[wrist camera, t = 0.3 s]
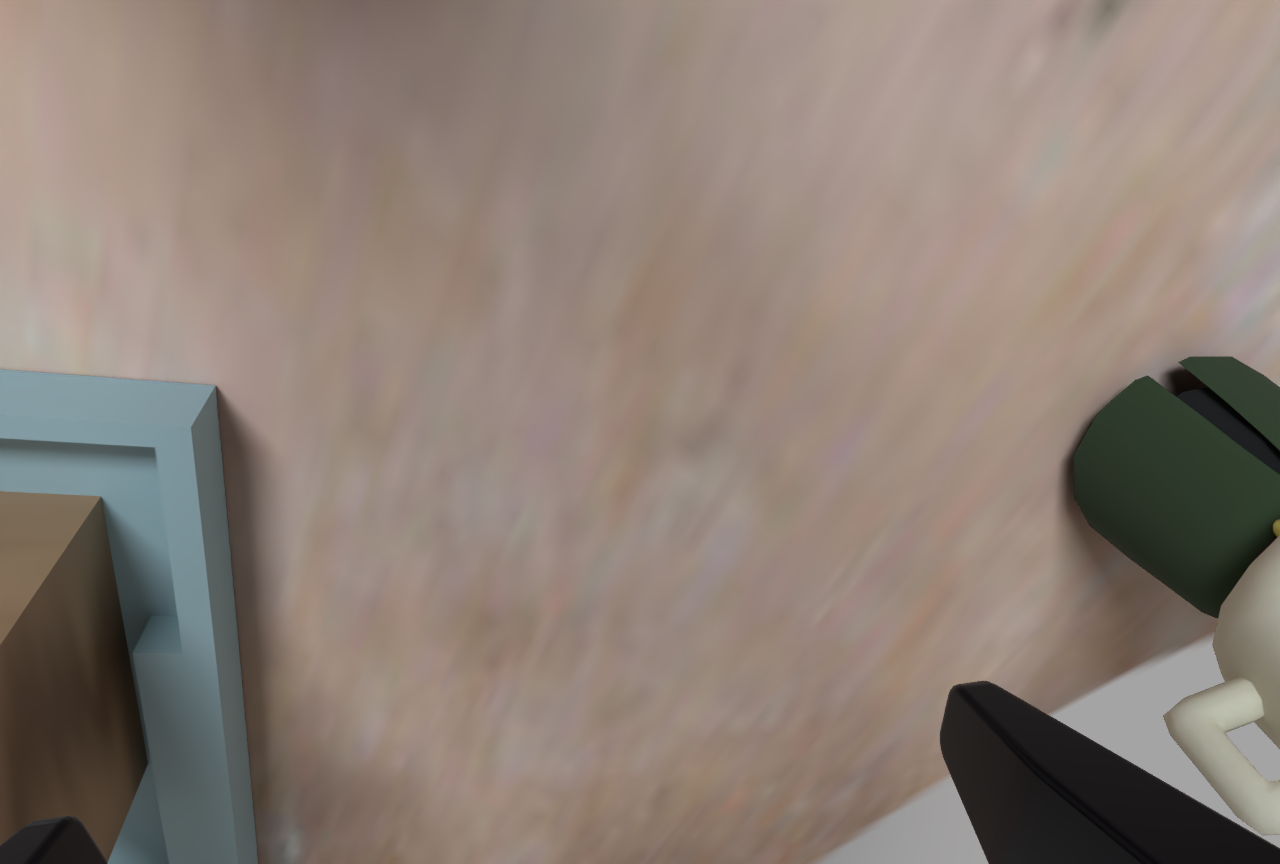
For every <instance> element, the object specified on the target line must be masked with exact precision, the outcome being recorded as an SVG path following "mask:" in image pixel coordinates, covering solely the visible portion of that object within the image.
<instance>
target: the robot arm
mask: <svg viewBox="0 0 1280 864" xmlns="http://www.w3.org/2000/svg"><path fill="white" fill-rule="evenodd" d="M940 745H941V751H942V754H943V758H944V760H945V763H946V765H947V767H948V770H949V772H950V774H951V777H952V779H953V781H954V784H955V786H956V788H957V790H958V793H959V795H960V798H961V800H962V802H963V805H964V807H965V809H966V812H967V814H968V816H969V818H970V821H971V823H972V826H973V828H974V830H975V833H976V835H977V837H978V839H979V842H980V844H981V846H982V849H983V851H984V854H985V856H986V858H987V861H988V863H989V864H1280V848H1278V847H1276V846H1275V845H1273V844H1271V843H1270V842H1268V841H1266V840H1264V839H1263V838H1261V837H1259V836H1257V835H1256V834H1254V833H1252V832H1250V831H1249V830H1247V829H1245V828H1243V827H1242V826H1240V825H1238V824H1237V823H1235V822H1233V821H1231V820H1230V819H1228V818H1226V817H1224V816H1223V815H1221V814H1219V813H1218V812H1216V811H1214V810H1212V809H1211V808H1209V807H1207V806H1205V805H1204V804H1202V803H1200V802H1198V801H1197V800H1195V799H1193V798H1191V797H1190V796H1188V795H1186V794H1185V793H1183V792H1181V791H1179V790H1178V789H1176V788H1174V787H1172V786H1171V785H1169V784H1167V783H1165V782H1164V781H1162V780H1160V779H1159V778H1157V777H1155V776H1153V775H1152V774H1150V773H1148V772H1146V771H1145V770H1143V769H1141V768H1139V767H1138V766H1136V765H1134V764H1132V763H1131V762H1129V761H1127V760H1125V759H1124V758H1122V757H1120V756H1119V755H1117V754H1115V753H1113V752H1112V751H1110V750H1108V749H1106V748H1104V747H1103V746H1101V745H1099V744H1098V743H1096V742H1094V741H1093V740H1091V739H1089V738H1087V737H1086V736H1084V735H1082V734H1080V733H1079V732H1077V731H1075V730H1073V729H1072V728H1070V727H1068V726H1067V725H1065V724H1063V723H1061V722H1060V721H1058V720H1056V719H1054V718H1053V717H1051V716H1049V715H1047V714H1046V713H1044V712H1042V711H1040V710H1039V709H1037V708H1035V707H1034V706H1032V705H1030V704H1028V703H1027V702H1025V701H1023V700H1021V699H1020V698H1018V697H1016V696H1014V695H1013V694H1011V693H1009V692H1008V691H1006V690H1004V689H1002V688H1001V687H999V686H997V685H995V684H993V683H990V682H988V681H978V682H971V683H964V684H958V685H955V686H953V687H952V689H951V690H950V692H949V695H948V699H947V704H946V708H945V713H944V717H943V721H942V726H941V730H940ZM0 864H108V863H107V860H106V858H105V857H104V855H103V854H102V852H101V850H100V849H99V847H98V846H97V844H96V843H95V841H94V840H93V838H92V836H91V835H90V833H89V832H88V830H87V829H86V827H85V826H84V824H83V823H82V821H81V820H80V819H78V818H76V817H74V816H63V817H56V818H49V819H42V820H37V821H33V822H30V823H29V824H27V825H26V826H24V827H23V828H21V829H20V830H19V831H17V832H16V833H15V834H14V835H12V836H11V837H10V838H9V839H7V840H6V841H5V842H4V843H2V844H1V845H0Z"/></svg>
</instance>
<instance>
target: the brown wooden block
mask: <svg viewBox="0 0 1280 864" xmlns="http://www.w3.org/2000/svg"><path fill="white" fill-rule="evenodd" d="M147 765H148V760H147V754H146V748H145V743H144V737H143V731H142V726H141V720H140V714H139V709H138V703H137V697H136V691H135V686H134V680H133V674H132V669H131V663H130V657H129V652H128V646H127V640H126V635H125V629H124V623H123V618H122V612H121V606H120V601H119V595H118V589H117V584H116V578H115V572H114V567H113V561H112V555H111V550H110V544H109V538H108V533H107V527H106V521H105V516H104V510H103V504H102V499H101V496H86V495H66V494H46V493H25V492H5V491H0V845H1V844H2V843H4V842H5V841H6V840H7V839H9V838H10V837H11V836H12V835H14V834H15V833H16V832H17V831H19V830H20V829H21V828H23V827H24V826H26V825H27V824H29V823H30V822H33V821H37V820H42V819H49V818H56V817H63V816H74V817H76V818H78V819H80V820H81V821H82V823H83V824H84V826H85V827H86V829H87V830H88V832H89V833H90V835H91V836H92V838H93V840H94V841H95V843H96V844H97V846H98V847H99V849H100V850H101V852H102V854H103V855H104V857H105V858H106V860H107V863H108V860H109V858H110V856H111V853H112V851H113V848H114V846H115V843H116V841H117V838H118V836H119V834H120V831H121V829H122V826H123V824H124V821H125V819H126V816H127V814H128V812H129V809H130V807H131V804H132V802H133V799H134V797H135V795H136V792H137V790H138V787H139V785H140V782H141V780H142V777H143V775H144V773H145V770H146V768H147Z"/></svg>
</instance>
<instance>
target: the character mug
mask: <svg viewBox="0 0 1280 864" xmlns="http://www.w3.org/2000/svg"><path fill="white" fill-rule="evenodd" d="M1179 363H1180V364H1181V365H1182V366H1183V367H1185V368H1186V369H1187V370H1188V371H1189V372H1191V373H1192V374H1193V375H1194V376H1196V377H1197V378H1198V379H1199V380H1200V381H1202V382H1203V383H1204V384H1205V385H1206V386H1208V387H1207V388H1201V389H1196V390H1190V391H1185V392H1183V393H1181V394H1179V395H1177V396H1175V395H1173V394H1172V393H1171V392H1169V391H1168V390H1166V389H1165V388H1164V387H1162V386H1161V385H1160V384H1158V383H1157V382H1156V381H1154V380H1153V379H1152V378H1150V377H1149V376H1145V377H1143V378H1140V379H1137V380H1135V381H1134V382H1133V383H1132V384H1130V385H1129V386H1128V387H1127V388H1126V389H1125V390H1124V391H1123V392H1121V393H1120V394H1119V395H1118V396H1117V397H1116V398H1115V399H1114V400H1112V401H1111V402H1110V403H1109V404H1108V405H1107V406H1106V407H1105V408H1103V409H1102V410H1101V411H1100V412H1099V413H1098V414H1097V415H1096V417H1095V419H1094V421H1093V422H1092V424H1091V426H1090V428H1089V430H1088V431H1087V433H1086V435H1085V437H1084V438H1083V440H1082V442H1081V444H1080V445H1079V447H1078V449H1077V451H1076V452H1075V454H1074V496H1075V500H1076V502H1077V503H1078V505H1079V507H1080V509H1081V511H1082V512H1083V514H1084V516H1085V518H1086V519H1087V521H1088V523H1089V525H1090V526H1091V527H1092V528H1093V529H1095V530H1096V531H1097V532H1098V533H1099V534H1101V535H1102V536H1103V537H1104V538H1105V539H1107V540H1108V541H1109V542H1110V543H1111V544H1113V545H1114V546H1115V547H1116V548H1118V549H1119V550H1120V551H1121V552H1122V553H1124V554H1125V555H1126V556H1127V557H1128V558H1130V559H1131V560H1132V561H1134V562H1135V563H1137V564H1138V565H1139V566H1141V567H1142V568H1143V569H1145V570H1146V571H1147V572H1149V573H1150V574H1151V575H1153V576H1154V577H1156V578H1157V579H1158V580H1160V581H1161V582H1162V583H1164V584H1165V585H1166V586H1168V587H1169V588H1170V589H1172V590H1173V591H1174V592H1176V593H1177V594H1178V595H1180V596H1181V597H1182V598H1184V599H1185V600H1186V601H1188V602H1189V603H1190V604H1192V605H1193V606H1194V607H1196V608H1197V609H1199V610H1200V611H1201V612H1203V613H1205V614H1208V615H1210V616H1213V617H1215V618H1218V622H1217V627H1216V631H1215V636H1214V640H1213V648H1214V651H1215V655H1216V657H1217V661H1218V664H1219V667H1220V670H1221V674H1222V676H1223V678H1224V680H1225V682H1224V683H1221V684H1219V685H1216V686H1214V687H1211V688H1209V689H1206V690H1204V691H1201V692H1198V693H1196V694H1193V695H1191V696H1188V697H1186V698H1184V699H1182V700H1181V701H1180V702H1179V703H1178V704H1177V705H1175V706H1174V707H1173V708H1172V709H1171V710H1170V711H1169V712H1167V713H1166V714H1165V715H1164V716H1163V717H1164V720H1165V722H1166V725H1167V727H1168V730H1169V733H1170V735H1171V736H1172V738H1173V739H1174V740H1175V741H1176V743H1177V744H1178V745H1179V746H1180V748H1181V749H1182V750H1183V751H1184V752H1185V754H1186V755H1187V756H1188V757H1189V759H1190V760H1191V761H1192V762H1193V764H1194V765H1195V766H1196V767H1197V768H1198V770H1199V771H1200V772H1201V773H1202V775H1203V776H1204V777H1205V778H1206V779H1207V781H1208V782H1209V783H1210V784H1211V786H1212V787H1213V788H1214V789H1215V791H1216V792H1217V793H1218V794H1219V795H1220V797H1221V798H1222V799H1223V800H1224V802H1225V803H1226V804H1227V805H1228V806H1229V808H1230V809H1231V810H1232V811H1233V813H1234V814H1235V815H1236V816H1237V817H1238V818H1240V819H1241V820H1242V821H1243V822H1245V823H1246V824H1247V825H1249V826H1250V827H1252V828H1253V829H1254V830H1256V831H1257V832H1258V833H1260V834H1261V835H1280V780H1279V781H1267V780H1266V779H1265V778H1263V777H1262V775H1261V774H1260V773H1259V772H1258V771H1257V770H1256V769H1255V767H1254V766H1253V765H1252V764H1251V763H1250V762H1249V761H1248V759H1247V758H1246V757H1245V756H1244V755H1243V754H1242V753H1241V752H1240V750H1239V749H1238V748H1237V747H1236V746H1235V745H1234V744H1233V743H1232V741H1231V740H1230V739H1229V738H1228V737H1227V735H1226V732H1228V731H1231V730H1234V729H1236V728H1239V727H1241V726H1244V725H1247V724H1249V723H1252V722H1255V723H1256V724H1257V725H1258V727H1259V728H1260V729H1261V730H1262V731H1263V732H1264V733H1265V734H1266V735H1267V736H1268V737H1269V738H1270V739H1271V740H1272V741H1273V743H1274V744H1275V745H1276V746H1277V747H1278V748H1279V749H1280V387H1279V386H1277V385H1276V384H1275V383H1273V382H1272V381H1271V380H1269V379H1268V378H1267V377H1265V376H1264V375H1262V374H1261V373H1259V372H1257V371H1256V370H1254V369H1252V368H1250V367H1249V366H1247V365H1245V364H1243V363H1242V362H1240V361H1238V360H1237V359H1235V358H1233V357H1189V358H1187V359H1184V360H1182V361H1180V362H1179Z"/></svg>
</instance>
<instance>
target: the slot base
mask: <svg viewBox="0 0 1280 864" xmlns="http://www.w3.org/2000/svg"><path fill="white" fill-rule="evenodd" d="M0 491H5V492H25V493H46V494H66V495H86V496H101V499H102V504H103V510H104V516H105V521H106V527H107V533H108V538H109V544H110V550H111V555H112V561H113V567H114V572H115V578H116V584H117V589H118V595H119V601H120V606H121V612H122V618H123V623H124V629H125V635H126V640H127V646H128V652H129V657H130V663H131V669H132V674H133V680H134V686H135V691H136V697H137V703H138V709H139V714H140V720H141V726H142V731H143V737H144V743H145V748H146V754H147V760H148V765H147V768H146V770H145V773H144V775H143V777H142V780H141V782H140V785H139V787H138V790H137V792H136V795H135V797H134V799H133V802H132V804H131V807H130V809H129V812H128V814H127V816H126V819H125V821H124V824H123V826H122V829H121V831H120V834H119V836H118V838H117V841H116V843H115V846H114V848H113V851H112V853H111V856H110V858H109V860H108V864H258V854H257V843H256V832H255V821H254V810H253V799H252V787H251V776H250V765H249V754H248V743H247V732H246V720H245V709H244V698H243V687H242V676H241V664H240V653H239V642H238V631H237V620H236V609H235V597H234V586H233V575H232V564H231V553H230V542H229V530H228V519H227V508H226V497H225V486H224V475H223V463H222V452H221V441H220V430H219V419H218V408H217V396H216V386H215V385H201V384H188V383H174V382H161V381H148V380H134V379H121V378H108V377H94V376H81V375H67V374H54V373H41V372H27V371H14V370H0Z"/></svg>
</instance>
